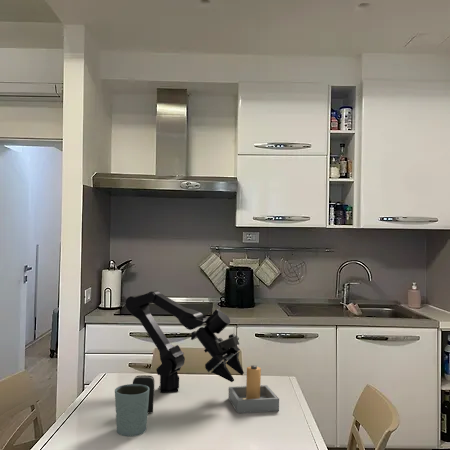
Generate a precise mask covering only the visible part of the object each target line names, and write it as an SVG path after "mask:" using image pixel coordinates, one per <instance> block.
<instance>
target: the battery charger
mask: <svg viewBox="0 0 450 450" xmlns="http://www.w3.org/2000/svg"><path fill="white" fill-rule="evenodd" d="M132 384H141V385H146V386H148V387H149V403H148V411H147V412H148V414H152V413H154V401H155V400H154V399H155V378H154V377H153V375H136V376H135V377H134V379H133V380H132Z"/></svg>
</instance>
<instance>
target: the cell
mask: <svg viewBox="0 0 450 450" xmlns="http://www.w3.org/2000/svg"><path fill="white" fill-rule="evenodd" d="M261 373H262V367H260V366H258V365H255V364H253V365H250V366H248V367H246V380H245V381H246V385H245V386H246V399H260V385H261V382H262V374H261Z"/></svg>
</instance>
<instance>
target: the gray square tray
mask: <svg viewBox="0 0 450 450" xmlns="http://www.w3.org/2000/svg"><path fill="white" fill-rule="evenodd" d="M228 400H229V402H230V403H231V404H232V406H233V408H234V410H235V411H236V413H237V414H243V413H244V414H247V413H260V412H261V413H264V412H278V411H279V412H280V398H279V396H278V395H277V394H275V392H274V391H273V390H272V389H271V388H270V387H269V386H268V385H267V384H263V385H261V384H260V399H246V385H243V386H242V385H241V386H240V385H239V386H229V387H228Z"/></svg>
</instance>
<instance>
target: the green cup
mask: <svg viewBox="0 0 450 450" xmlns="http://www.w3.org/2000/svg"><path fill="white" fill-rule="evenodd" d="M114 399H115V401H114V402H115V420H116V421H115V424H116V432H117V434H118V435H120V436H123V437H136V436H137V437H138V436H141V435H143V434H144V433H145V432H146V431H147V427H148V424H147V423H148V414H149V413H148V412H147V411H148V403H149V387H148V386H146V385H141V384H133V383H129V384H128V383H127V384H123V385H119V386H117V387H116V388H114Z"/></svg>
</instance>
